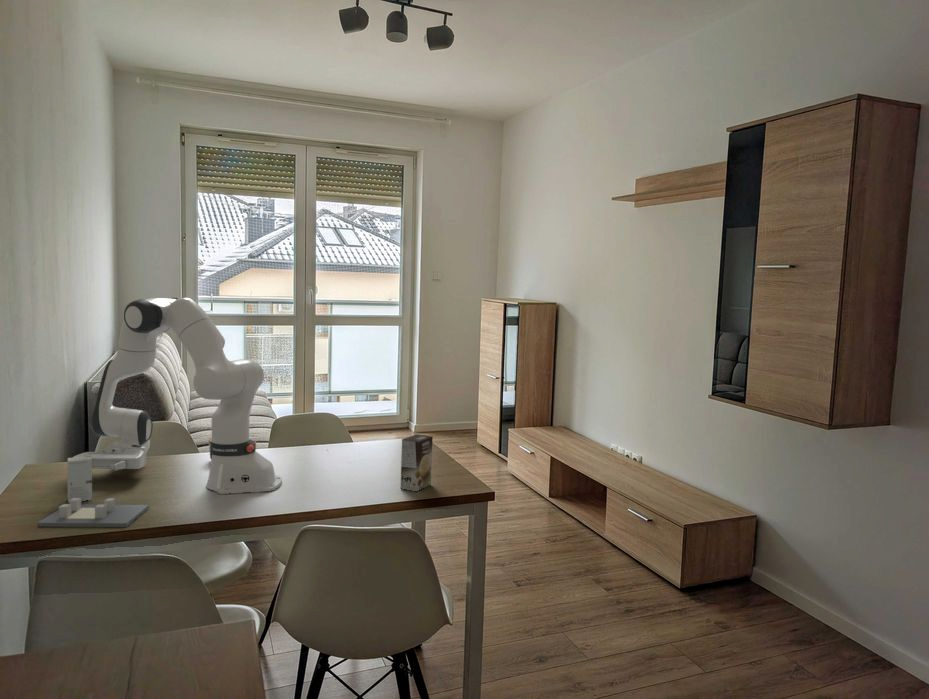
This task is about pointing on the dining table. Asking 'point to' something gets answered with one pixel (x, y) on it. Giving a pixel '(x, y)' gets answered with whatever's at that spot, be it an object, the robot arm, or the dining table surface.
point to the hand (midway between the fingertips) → (97, 467)
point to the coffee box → (416, 462)
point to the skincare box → (79, 478)
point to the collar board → (93, 514)
